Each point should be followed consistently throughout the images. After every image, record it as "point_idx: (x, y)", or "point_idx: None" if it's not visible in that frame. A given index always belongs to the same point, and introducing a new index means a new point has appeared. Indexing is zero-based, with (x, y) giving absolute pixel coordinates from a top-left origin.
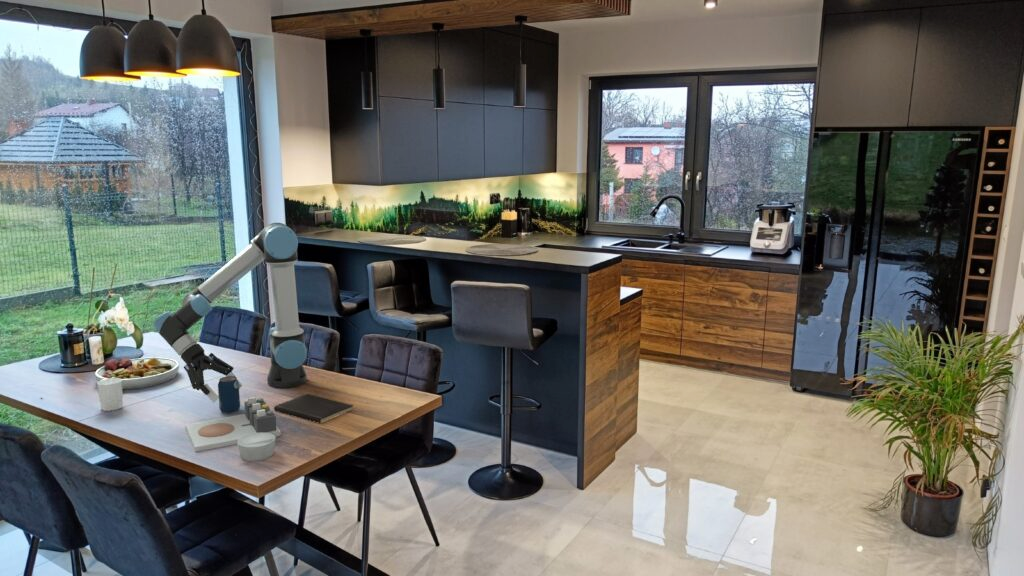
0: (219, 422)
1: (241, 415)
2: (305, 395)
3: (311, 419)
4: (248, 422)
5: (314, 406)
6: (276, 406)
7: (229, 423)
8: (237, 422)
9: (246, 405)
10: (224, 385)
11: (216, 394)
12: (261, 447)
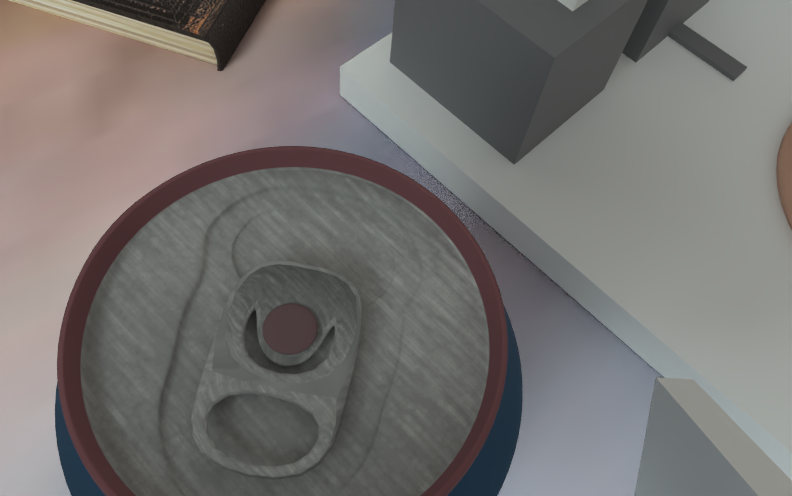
0: (779, 296)
1: (529, 195)
2: None
3: None
4: (651, 64)
5: None
6: (216, 22)
7: (748, 194)
8: (695, 142)
9: (621, 12)
10: (508, 320)
11: (687, 413)
12: None
